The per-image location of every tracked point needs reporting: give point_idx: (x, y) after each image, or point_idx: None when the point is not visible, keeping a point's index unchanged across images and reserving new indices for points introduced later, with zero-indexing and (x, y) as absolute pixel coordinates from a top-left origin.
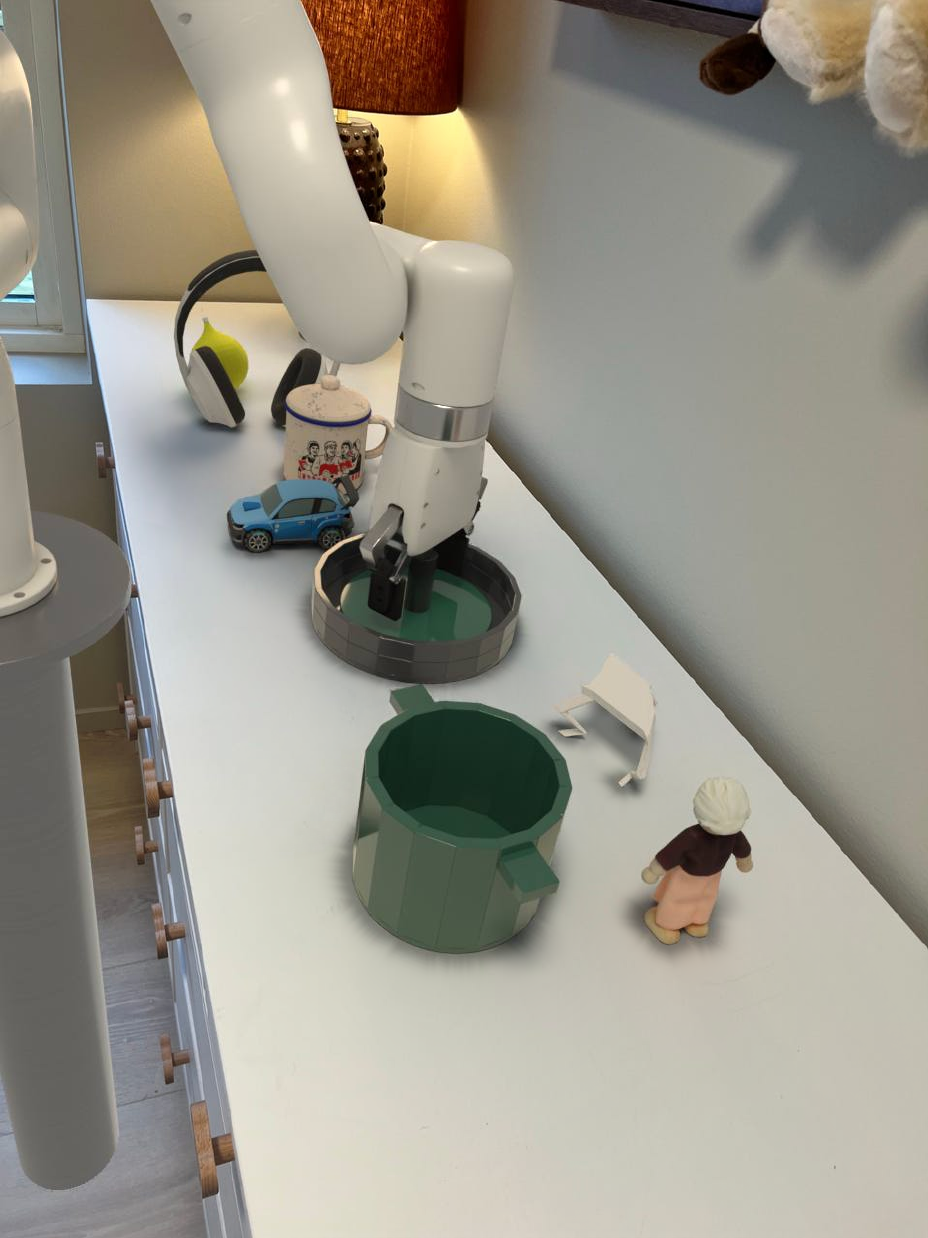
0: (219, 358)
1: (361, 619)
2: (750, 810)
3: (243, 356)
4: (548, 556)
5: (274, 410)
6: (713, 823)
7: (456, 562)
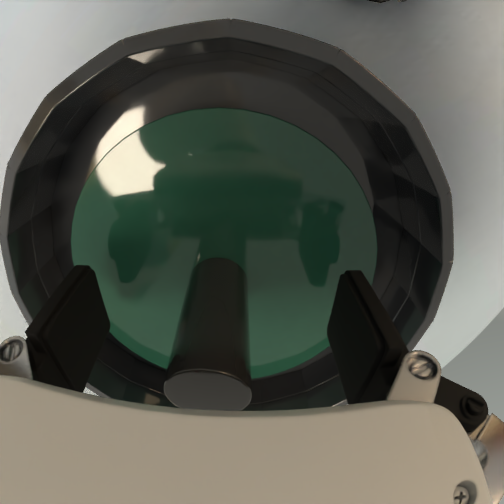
0: None
1: (93, 232)
2: None
3: None
4: (487, 303)
5: None
6: None
7: (335, 350)
